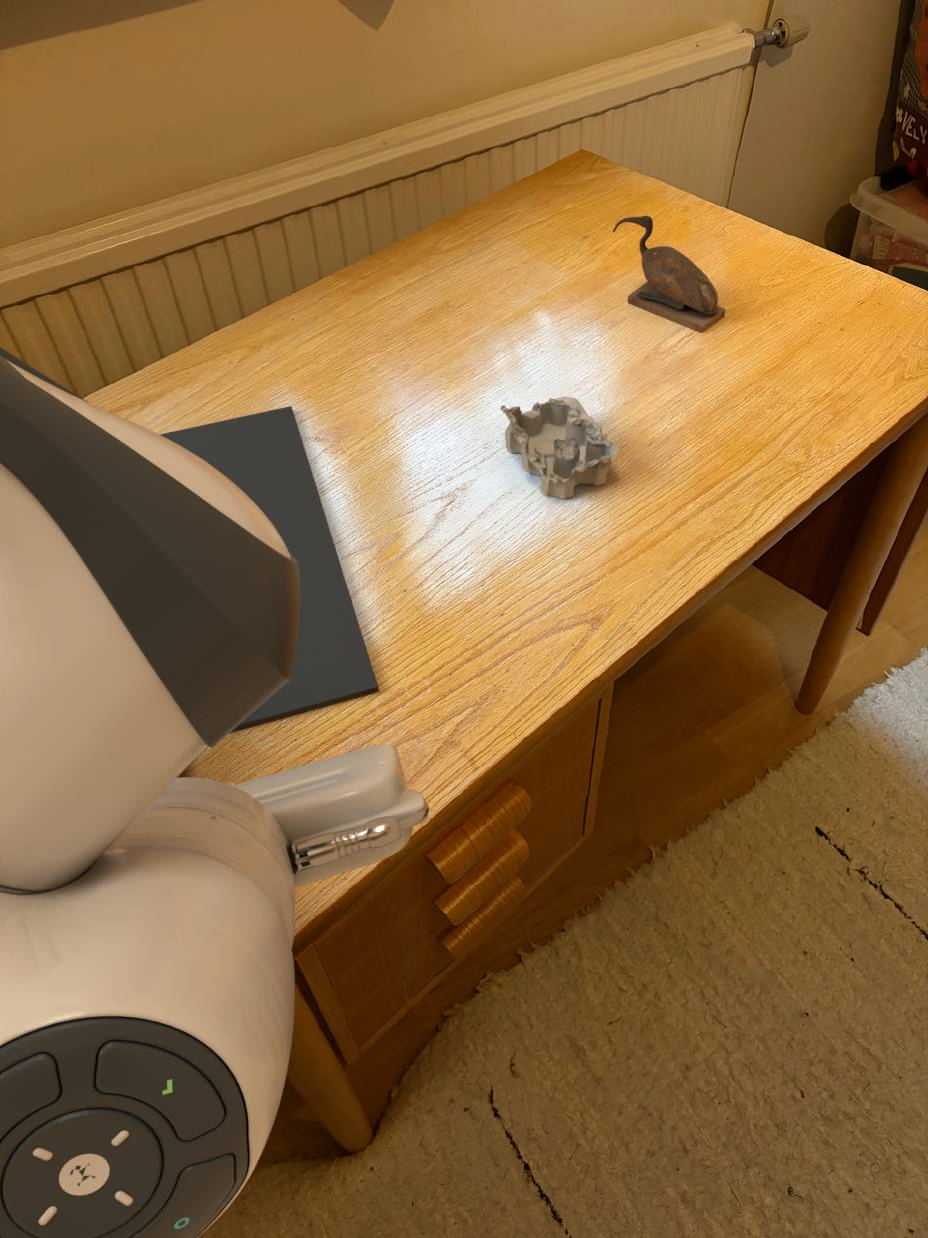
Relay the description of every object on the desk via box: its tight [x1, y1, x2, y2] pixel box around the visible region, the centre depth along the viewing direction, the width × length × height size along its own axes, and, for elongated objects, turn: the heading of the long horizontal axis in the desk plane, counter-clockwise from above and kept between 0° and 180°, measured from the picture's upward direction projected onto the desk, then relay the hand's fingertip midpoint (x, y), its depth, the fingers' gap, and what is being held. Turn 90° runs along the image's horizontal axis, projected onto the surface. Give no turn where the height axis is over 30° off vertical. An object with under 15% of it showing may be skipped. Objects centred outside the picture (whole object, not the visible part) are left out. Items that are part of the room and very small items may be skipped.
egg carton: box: [500, 396, 621, 499], centre depth 79 cm, size 11×8×4 cm
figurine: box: [612, 215, 727, 333], centre depth 94 cm, size 14×4×9 cm, turn 48°
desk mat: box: [159, 405, 380, 733], centre depth 74 cm, size 20×36×1 cm, turn 17°
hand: (213, 803), depth 48 cm, fingers closed
